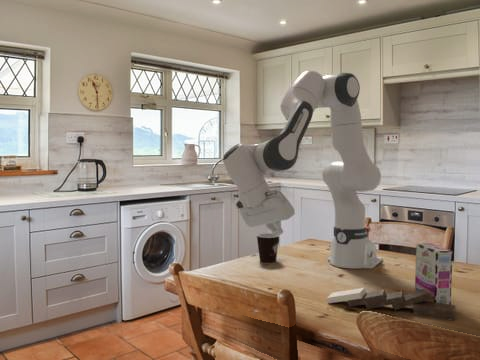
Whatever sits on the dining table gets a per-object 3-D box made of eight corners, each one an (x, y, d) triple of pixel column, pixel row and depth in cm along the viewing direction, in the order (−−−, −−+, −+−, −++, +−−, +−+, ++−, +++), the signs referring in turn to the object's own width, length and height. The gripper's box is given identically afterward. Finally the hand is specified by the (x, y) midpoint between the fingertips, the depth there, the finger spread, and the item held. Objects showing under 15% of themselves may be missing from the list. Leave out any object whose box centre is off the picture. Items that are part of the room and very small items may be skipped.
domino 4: (413, 305, 121) (454, 311, 116) (415, 299, 125) (455, 305, 120) (413, 311, 121) (454, 317, 116) (415, 305, 125) (455, 311, 121)
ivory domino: (326, 297, 130) (359, 292, 125) (332, 292, 134) (364, 287, 129) (328, 303, 130) (361, 298, 125) (333, 297, 134) (366, 293, 129)
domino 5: (413, 311, 120) (454, 317, 116) (414, 305, 125) (454, 310, 121) (413, 317, 121) (454, 323, 117) (414, 311, 125) (454, 316, 121)
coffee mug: (264, 264, 172) (263, 238, 171) (253, 259, 180) (252, 234, 179) (289, 260, 178) (289, 235, 177) (277, 256, 185) (277, 231, 184)
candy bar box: (452, 310, 123) (453, 251, 122) (435, 311, 123) (436, 251, 122) (429, 296, 135) (431, 242, 133) (413, 297, 134) (415, 242, 133)
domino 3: (392, 304, 123) (429, 292, 121) (389, 300, 128) (424, 288, 126) (394, 310, 123) (431, 298, 121) (391, 305, 128) (426, 293, 126)
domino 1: (346, 301, 127) (382, 294, 123) (350, 295, 131) (384, 289, 127) (348, 307, 127) (384, 300, 123) (351, 301, 131) (386, 294, 127)
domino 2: (364, 303, 125) (401, 296, 121) (366, 298, 130) (402, 290, 126) (366, 309, 125) (403, 302, 121) (368, 303, 130) (403, 296, 126)
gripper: (285, 183, 131) (308, 224, 132) (244, 196, 147) (265, 232, 149) (272, 193, 127) (295, 235, 129) (231, 205, 143) (252, 242, 145)
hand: (279, 234), depth 139 cm, fingers closed
